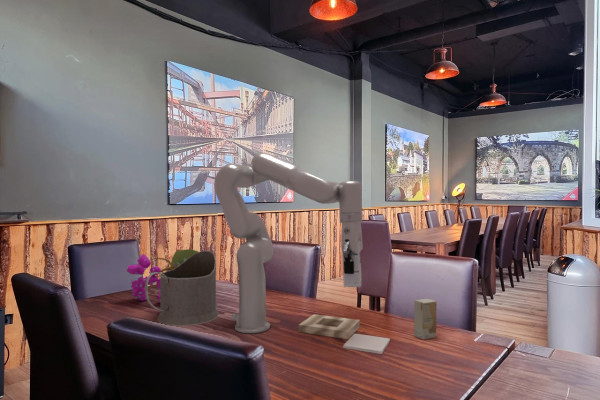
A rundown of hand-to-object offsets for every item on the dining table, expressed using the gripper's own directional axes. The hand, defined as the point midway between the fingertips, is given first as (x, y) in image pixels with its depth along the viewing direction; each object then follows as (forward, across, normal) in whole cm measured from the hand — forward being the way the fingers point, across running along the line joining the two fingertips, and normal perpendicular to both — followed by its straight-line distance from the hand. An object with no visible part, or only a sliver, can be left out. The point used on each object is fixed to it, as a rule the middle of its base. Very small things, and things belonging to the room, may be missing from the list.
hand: (352, 271), depth 132 cm
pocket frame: (+22, +5, +10) cm, 25 cm away
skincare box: (+23, +10, -22) cm, 33 cm away
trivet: (+22, -4, -6) cm, 23 cm away
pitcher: (+21, -5, +68) cm, 71 cm away
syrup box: (+5, 0, 0) cm, 5 cm away
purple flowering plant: (+21, +19, +94) cm, 98 cm away
